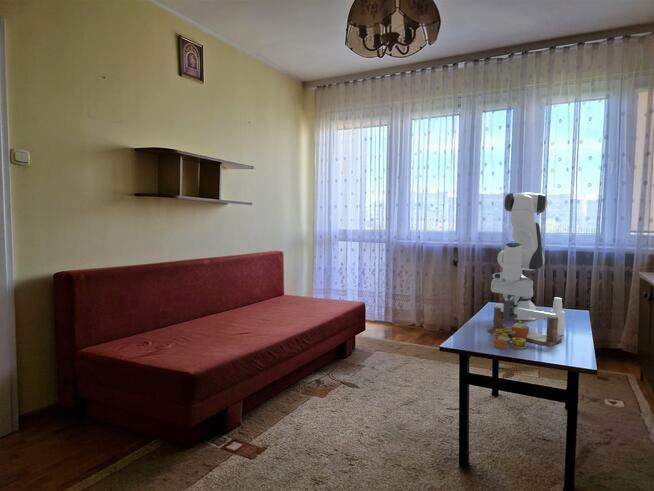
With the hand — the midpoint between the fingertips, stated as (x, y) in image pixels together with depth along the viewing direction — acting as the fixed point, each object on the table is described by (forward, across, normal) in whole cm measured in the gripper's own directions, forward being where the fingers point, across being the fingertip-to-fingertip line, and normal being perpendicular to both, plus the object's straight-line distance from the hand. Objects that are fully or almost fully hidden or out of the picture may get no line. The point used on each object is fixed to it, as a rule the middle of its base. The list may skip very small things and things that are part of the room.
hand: (510, 303), depth 207 cm
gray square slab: (+7, 0, 0) cm, 7 cm away
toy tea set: (+15, -8, +15) cm, 23 cm away
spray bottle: (+15, -14, -19) cm, 28 cm away
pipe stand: (+15, -7, 0) cm, 16 cm away
